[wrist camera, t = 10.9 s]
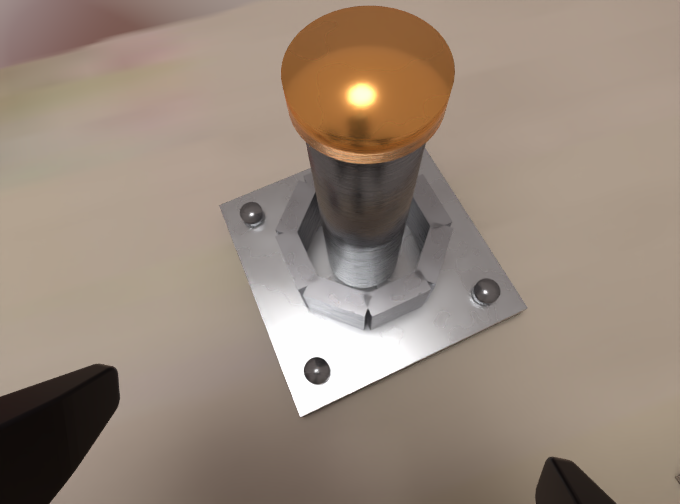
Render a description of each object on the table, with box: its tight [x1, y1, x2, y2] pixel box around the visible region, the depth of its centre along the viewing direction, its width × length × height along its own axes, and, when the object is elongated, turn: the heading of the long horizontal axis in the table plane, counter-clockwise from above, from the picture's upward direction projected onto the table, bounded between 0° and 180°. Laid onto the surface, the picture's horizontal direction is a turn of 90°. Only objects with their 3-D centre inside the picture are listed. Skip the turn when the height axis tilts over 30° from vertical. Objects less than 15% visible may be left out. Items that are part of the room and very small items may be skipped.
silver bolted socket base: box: [219, 148, 527, 417], centre depth 21 cm, size 12×12×4 cm
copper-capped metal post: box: [281, 6, 455, 288], centre depth 16 cm, size 4×4×12 cm
